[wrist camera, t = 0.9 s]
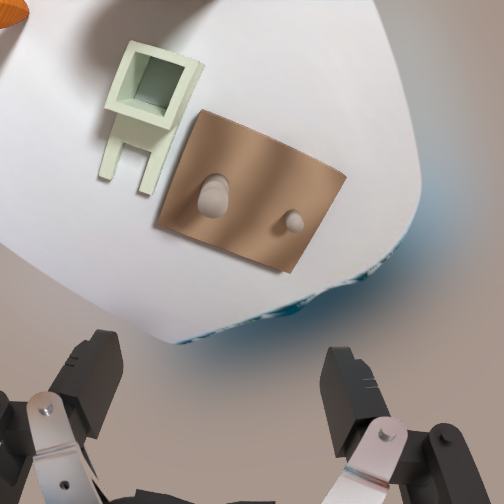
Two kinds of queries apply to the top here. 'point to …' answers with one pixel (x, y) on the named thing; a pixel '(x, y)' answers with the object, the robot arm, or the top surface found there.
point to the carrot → (12, 12)
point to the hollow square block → (146, 111)
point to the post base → (248, 193)
